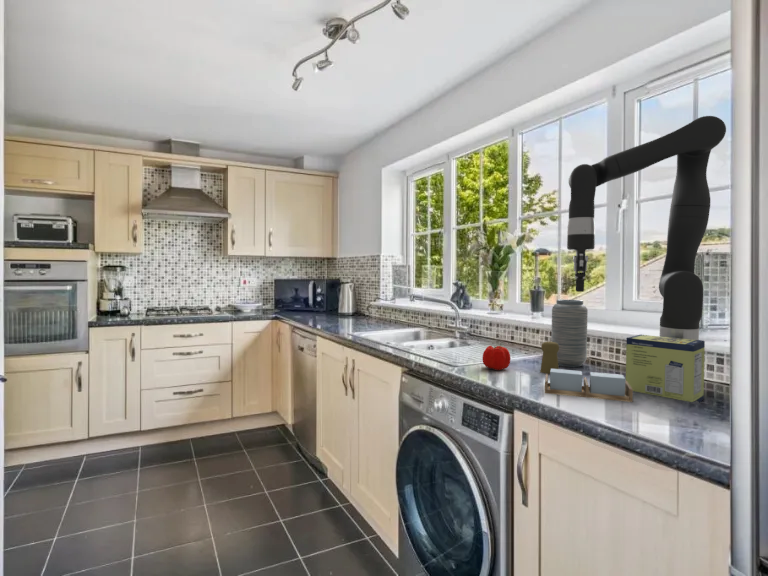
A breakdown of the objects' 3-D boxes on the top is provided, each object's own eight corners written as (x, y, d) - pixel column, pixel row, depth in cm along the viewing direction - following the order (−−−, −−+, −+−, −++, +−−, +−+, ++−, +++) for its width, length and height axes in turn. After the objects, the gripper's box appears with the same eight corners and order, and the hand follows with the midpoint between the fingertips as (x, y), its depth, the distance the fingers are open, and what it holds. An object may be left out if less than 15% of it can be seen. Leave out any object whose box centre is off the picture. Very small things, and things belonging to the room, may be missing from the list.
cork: (561, 379, 132) (562, 343, 132) (541, 378, 133) (541, 342, 133) (557, 374, 138) (558, 340, 138) (538, 373, 139) (538, 339, 139)
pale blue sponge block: (622, 394, 111) (622, 374, 111) (624, 398, 107) (625, 378, 106) (589, 390, 113) (590, 372, 113) (590, 395, 109) (591, 375, 109)
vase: (577, 369, 146) (578, 301, 145) (544, 364, 154) (546, 300, 154) (592, 365, 153) (593, 300, 153) (560, 359, 162) (561, 298, 161)
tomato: (500, 365, 152) (501, 344, 152) (514, 371, 143) (515, 348, 143) (476, 366, 149) (477, 345, 149) (489, 372, 141) (489, 349, 141)
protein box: (637, 388, 123) (639, 333, 122) (704, 400, 111) (706, 340, 110) (623, 395, 116) (625, 337, 115) (693, 408, 104) (695, 344, 103)
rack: (626, 398, 112) (626, 380, 112) (632, 408, 104) (632, 389, 104) (545, 390, 120) (545, 373, 120) (544, 399, 111) (544, 381, 111)
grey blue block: (581, 389, 114) (581, 371, 114) (581, 394, 110) (582, 374, 110) (550, 386, 117) (550, 368, 117) (549, 390, 113) (550, 371, 113)
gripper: (596, 231, 122) (595, 292, 122) (593, 235, 134) (591, 291, 135) (568, 232, 125) (566, 292, 125) (566, 235, 137) (565, 290, 137)
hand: (579, 291), depth 130 cm, fingers closed
